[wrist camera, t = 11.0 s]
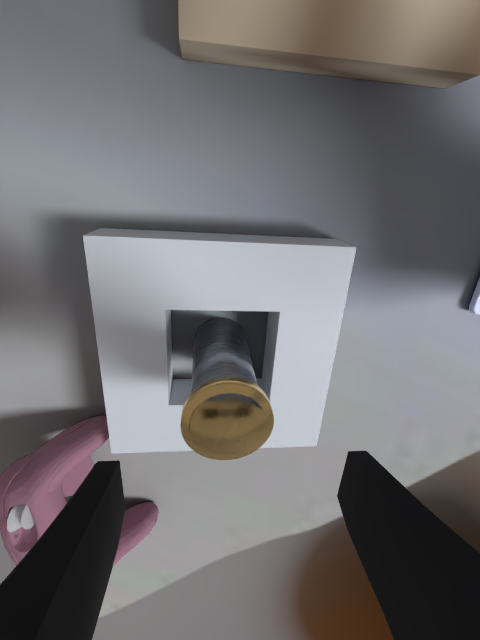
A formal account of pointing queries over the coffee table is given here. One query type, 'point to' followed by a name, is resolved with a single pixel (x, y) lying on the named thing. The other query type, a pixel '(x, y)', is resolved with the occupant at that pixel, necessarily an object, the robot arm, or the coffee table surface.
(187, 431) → the lock pin
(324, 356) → the dock
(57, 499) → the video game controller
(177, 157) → the coffee table surface
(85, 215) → the coffee table surface
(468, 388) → the coffee table surface
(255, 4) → the pin mount
